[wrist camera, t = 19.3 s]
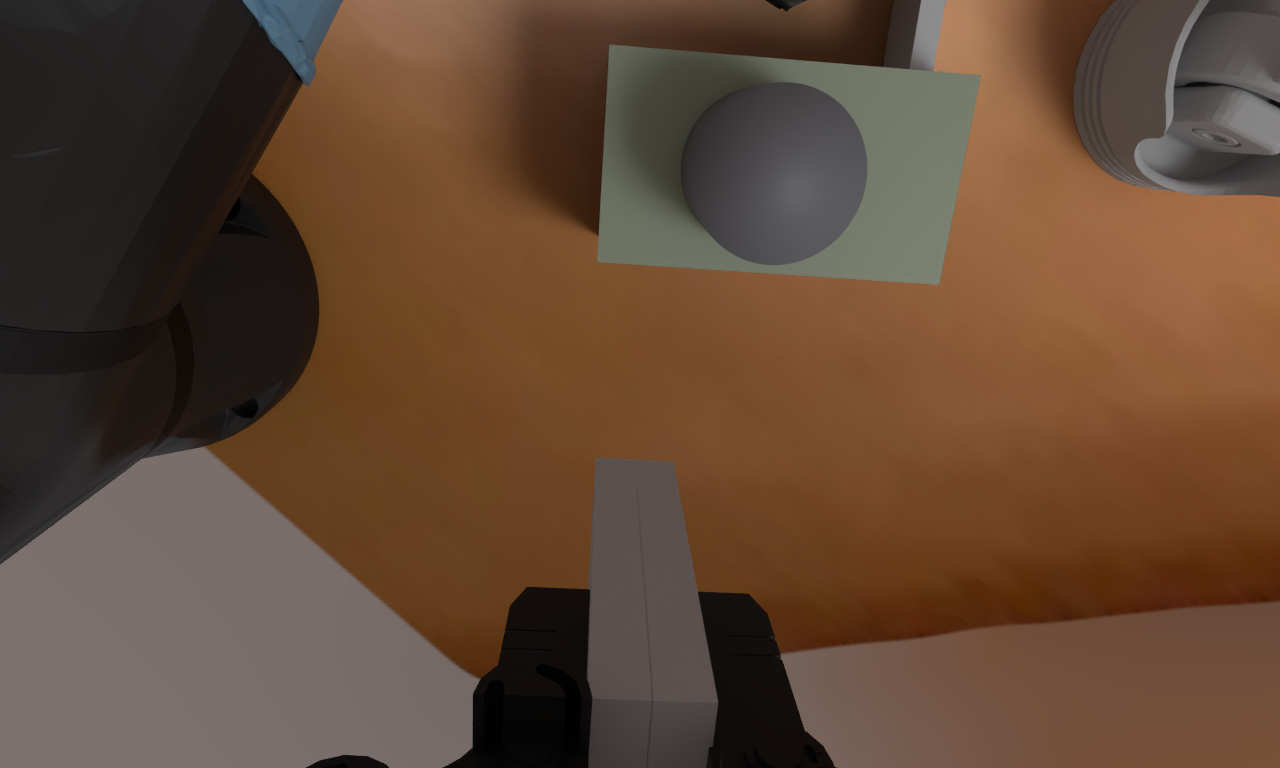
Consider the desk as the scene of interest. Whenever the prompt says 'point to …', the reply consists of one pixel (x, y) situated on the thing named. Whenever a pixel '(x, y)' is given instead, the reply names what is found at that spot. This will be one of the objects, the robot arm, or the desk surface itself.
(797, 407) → the desk surface
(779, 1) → the battery
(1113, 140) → the engine component
